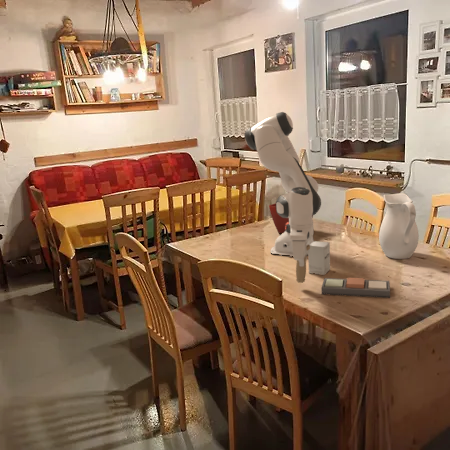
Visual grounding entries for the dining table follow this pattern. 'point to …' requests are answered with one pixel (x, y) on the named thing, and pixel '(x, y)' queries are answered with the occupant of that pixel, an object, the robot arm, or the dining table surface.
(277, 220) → the plant pot
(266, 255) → the dining table surface
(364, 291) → the keypad
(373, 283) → the key offwhite
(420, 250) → the dining table surface
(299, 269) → the handle
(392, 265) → the dining table surface
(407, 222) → the pitcher
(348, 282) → the key terracotta
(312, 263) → the supplement box
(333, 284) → the key sage
